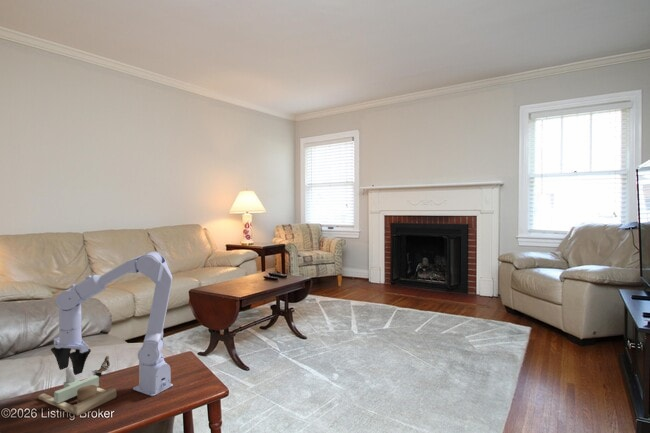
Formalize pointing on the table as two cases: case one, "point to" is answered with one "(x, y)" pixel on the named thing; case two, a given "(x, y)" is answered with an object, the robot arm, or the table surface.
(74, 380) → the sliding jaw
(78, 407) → the frame
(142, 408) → the table surface
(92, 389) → the walnut puck
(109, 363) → the brown figurine
